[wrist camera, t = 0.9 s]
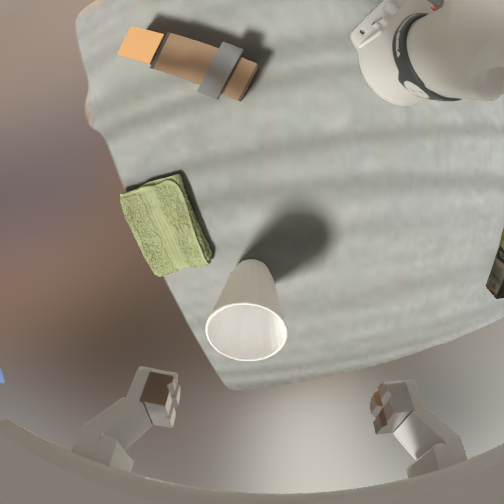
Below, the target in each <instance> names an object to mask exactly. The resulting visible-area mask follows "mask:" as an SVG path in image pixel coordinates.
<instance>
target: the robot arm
mask: <svg viewBox="0 0 504 504" xmlns="http://www.w3.org/2000/svg"><path fill="white" fill-rule="evenodd" d="M443 1H444V4H443V6H442V7H441V8H438V7H436V6H435V5H433V4H432V3H430V2H429V1H427V0H383V1H382V2H381V3H380V4H378V5H377V6H376V7H375V8H374V9H373V10H372V11H371V12H370V13H369V14H368V15H367V16H366V17H365V18H364V19H363V20H362V21H361V22H360V23H359V24H358V25H357V26H356V27H355V28H354V29H353V30H352V31H351V33H350V39H351V41H352V43H353V45H354V47H355V48H356V50H357V52H358V56H359V63H360V68H361V71H362V73H363V76H364V78H365V80H366V81H367V83H368V84H369V86H370V87H371V88H372V89H373V90H374V92H375V93H377V94H378V95H379V96H380V97H381V98H383V99H384V100H386V101H388V102H390V103H392V104H395V105H400V106H413V105H416V104H419V103H422V102H425V101H432V102H437V101H457V100H461V99H469V100H479V101H492V100H495V99H497V98H499V97H500V96H502V95H503V94H504V0H443ZM360 31H363V32H364V34H361V33H360ZM177 381H178V375H177V373H173V372H168V371H162V370H157V369H152V368H147V367H142V366H140V367H139V368H138V369H137V372H136V374H135V377H134V379H133V382H132V384H131V387H130V390H129V392H128V395H127V397H126V398H124V397H123V398H121V399H120V400H118V401H117V402H116V403H114V404H113V405H111V406H110V407H109V408H107V409H106V410H104V411H103V412H101V413H100V414H98V415H97V416H95V417H94V418H93V419H91V420H90V421H88V422H87V423H85V424H84V425H82V427H81V430H80V432H79V434H78V437H77V439H76V442H75V444H74V447H73V449H72V452H71V451H69V450H67V449H64V448H62V447H60V446H58V445H56V444H53V443H51V442H49V441H47V440H45V439H43V438H41V437H39V436H37V435H35V434H33V433H32V432H30V431H28V430H26V429H24V428H22V427H21V426H19V425H17V424H16V423H14V422H12V421H10V420H7V419H3V420H0V504H504V444H502V445H499V446H497V447H495V448H493V449H491V450H489V451H486V452H484V453H482V454H480V455H477V456H475V457H472V458H470V459H467V457H466V454H465V450H464V447H463V444H462V442H461V438H460V436H459V435H457V434H456V433H455V432H454V431H453V430H452V429H450V428H449V427H448V426H447V425H446V424H445V423H443V422H442V421H441V420H440V419H439V418H438V417H436V416H435V415H434V414H432V412H431V411H430V410H428V409H425V408H424V405H423V402H422V399H421V397H420V394H419V391H418V389H417V386H416V383H415V381H414V380H403V381H401V380H400V381H391V382H382V383H380V384H379V386H378V391H377V392H375V393H374V394H373V396H372V397H371V401H370V410H371V414H372V415H374V416H375V419H374V421H373V424H374V428H375V433H376V434H386V433H393V434H394V436H395V437H396V438H397V439H398V440H399V441H400V443H401V444H402V445H403V446H404V447H405V449H406V450H407V451H408V452H409V453H410V454H411V455H412V457H413V458H414V459H415V460H416V461H415V462H413V463H412V464H411V465H409V466H408V468H407V474H408V479H403V480H399V481H395V482H390V483H386V484H380V485H375V486H369V487H363V488H357V489H349V490H341V491H330V492H319V493H298V494H264V493H263V494H262V493H244V492H231V491H222V490H213V489H206V488H198V487H192V486H186V485H181V484H176V483H171V482H166V481H162V480H157V479H153V478H149V477H145V476H141V475H138V474H134V473H131V471H132V467H133V463H134V462H133V461H132V459H131V458H130V457H129V455H128V454H127V453H126V452H125V450H126V449H128V448H129V446H131V445H132V444H133V443H134V442H135V441H136V440H137V439H139V438H140V437H141V436H142V435H143V434H144V433H145V432H146V431H147V430H148V429H149V428H150V427H151V426H152V424H154V425H159V426H165V427H170V428H172V427H173V424H174V420H175V416H176V414H175V409H174V408H176V407H177V406H178V404H179V399H180V385H179V384H178V383H177Z"/></svg>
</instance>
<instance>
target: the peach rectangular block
mask: <svg viewBox="0 0 504 504" xmlns="http://www.w3.org/2000/svg"><path fill="white" fill-rule="evenodd" d="M165 36H166V35H165V34H162V33H158V32H154V31H150V30H146V29H142V28H137V27H133V26H131V27H130V29H129V31H128V33H127V35H126V37H125V39H124V41H123V43H122V45H121V48H120V50H119V52H118V54H117V55H120V56H124V57H127V58H131V59H135V60H138V61H142V62H145V63H148V64H152V62H153V60H154V58H155V56H156V54H157V52H158V50H159V47H160V45H161V43H162V42H163V40H164V38H165Z"/></svg>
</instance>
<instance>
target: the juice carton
mask: <svg viewBox="0 0 504 504" xmlns="http://www.w3.org/2000/svg"><path fill="white" fill-rule="evenodd" d="M486 287H487V289H489V291H490V292H491V293H492V294H493V295H494V297H495V298H496V299H499V298H504V229H503V232H502V237H501V241H500V245H499V248H498V251H497V254H496V258H495V261H494V264H493V267H492V270H491V273H490V275H489V278H488V281H487V284H486Z"/></svg>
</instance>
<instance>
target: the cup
mask: <svg viewBox="0 0 504 504" xmlns="http://www.w3.org/2000/svg"><path fill="white" fill-rule="evenodd" d="M206 335H207V338H208V340H209V342H210V343H211V345H212V346H213V347H214V348H215V349H216V350H217V351H218V352H220V353H222V354H223V355H225V356H227V357H230V358H233V359H236V360H242V361H257V360H261V359H265V358H268V357H270V356H272V355H274V354H275V353H277V352H278V351H279V350H280V349H281V348H282V347H283V346H284V344H285V342H286V339H287V336H288V328H287V325H286V323H285V319H284V316H283V312H282V309H281V305H280V301H279V298H278V294H277V291H276V287H275V284H274V280H273V277H272V275H271V273H270V271H269V269H268V267H267V266H266V265H265V264H264V263H263V262H261V261H259V260H255V259H247V260H244V261H242V262H240V263H239V264H238V265H237V266H236V267H235V269H234V270H233V271H232V272H231V274H230V276H229V278H228V281H227V283H226V285H225V287H224V289H223V291H222V293H221V295H220V297H219V299H218V301H217V303H216V305H215V307H214V309H213V312H212V314H211V315H210V316H209V318H208V320H207V322H206Z"/></svg>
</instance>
